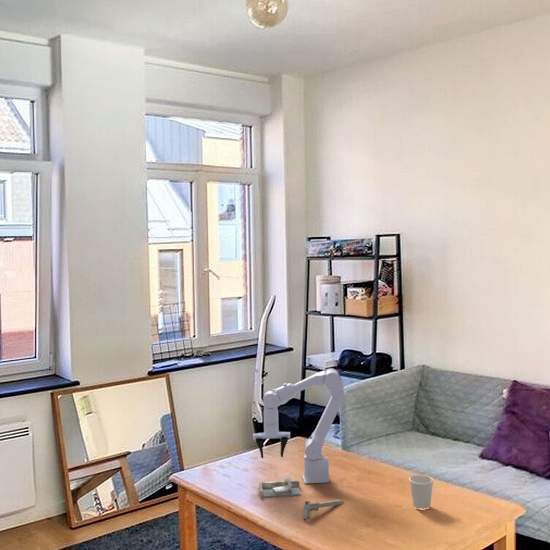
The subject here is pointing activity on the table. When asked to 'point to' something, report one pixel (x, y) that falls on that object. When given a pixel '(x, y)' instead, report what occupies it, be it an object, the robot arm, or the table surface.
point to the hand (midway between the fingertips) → (271, 456)
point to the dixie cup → (421, 490)
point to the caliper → (317, 506)
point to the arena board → (269, 493)
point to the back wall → (279, 484)
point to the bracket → (283, 487)
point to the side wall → (260, 490)
